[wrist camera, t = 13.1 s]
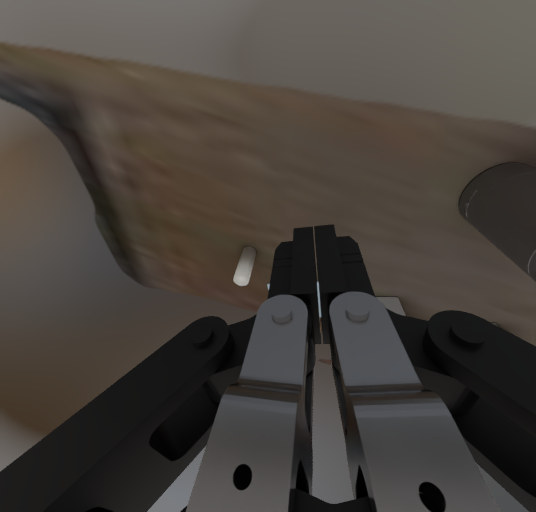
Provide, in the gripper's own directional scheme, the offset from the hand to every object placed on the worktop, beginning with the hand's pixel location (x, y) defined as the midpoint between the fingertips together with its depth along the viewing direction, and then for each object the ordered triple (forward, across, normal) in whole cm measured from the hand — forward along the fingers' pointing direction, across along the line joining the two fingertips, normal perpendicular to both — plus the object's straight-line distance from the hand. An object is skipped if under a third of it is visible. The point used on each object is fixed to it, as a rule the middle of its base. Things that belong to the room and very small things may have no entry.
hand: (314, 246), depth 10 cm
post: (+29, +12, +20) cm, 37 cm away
